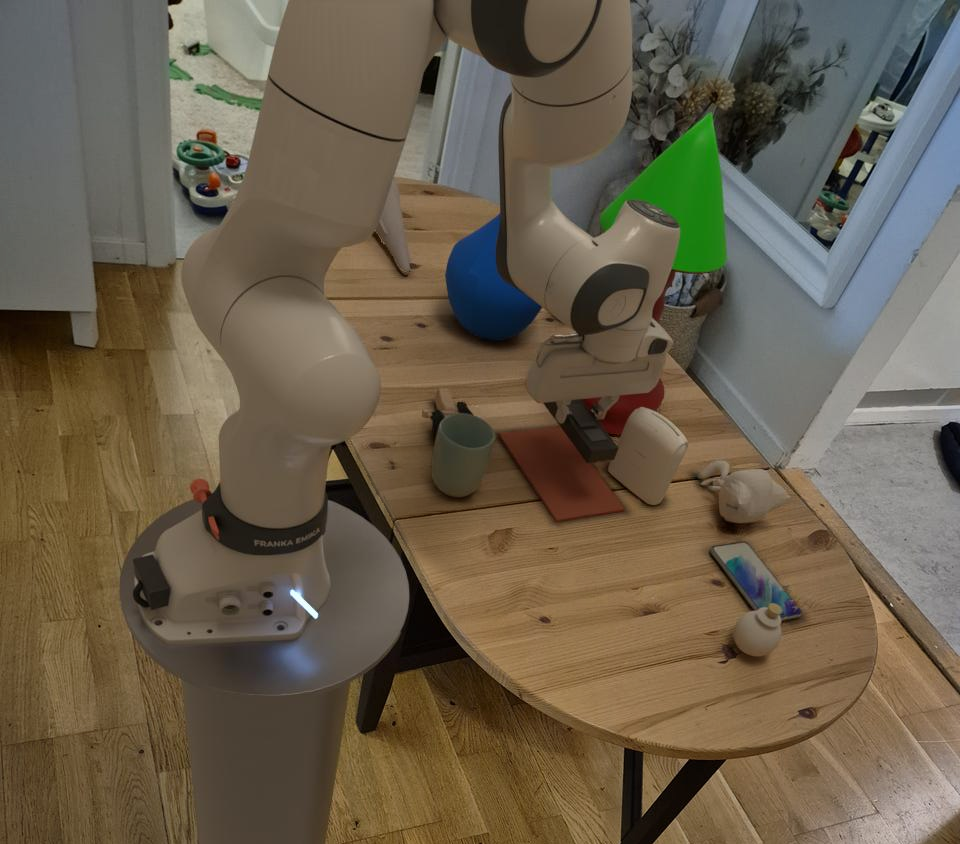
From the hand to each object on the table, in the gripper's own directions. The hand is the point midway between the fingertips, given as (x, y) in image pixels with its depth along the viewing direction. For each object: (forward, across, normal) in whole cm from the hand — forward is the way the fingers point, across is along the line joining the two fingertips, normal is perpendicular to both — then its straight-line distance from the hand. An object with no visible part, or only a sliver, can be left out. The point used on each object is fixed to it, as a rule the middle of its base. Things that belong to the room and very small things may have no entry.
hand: (579, 418), depth 119 cm
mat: (+10, 0, 0) cm, 10 cm away
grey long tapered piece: (+10, 0, +70) cm, 71 cm away
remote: (+2, 0, 0) cm, 2 cm away
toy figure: (+10, -14, +12) cm, 21 cm away
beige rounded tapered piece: (+10, +24, -12) cm, 29 cm away
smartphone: (+10, +18, -28) cm, 35 cm away
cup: (+10, -18, 0) cm, 21 cm away
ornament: (+10, +10, -38) cm, 41 cm away
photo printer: (+10, +11, -5) cm, 16 cm away
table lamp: (+10, +17, +16) cm, 25 cm away
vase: (+10, +6, +40) cm, 42 cm away
